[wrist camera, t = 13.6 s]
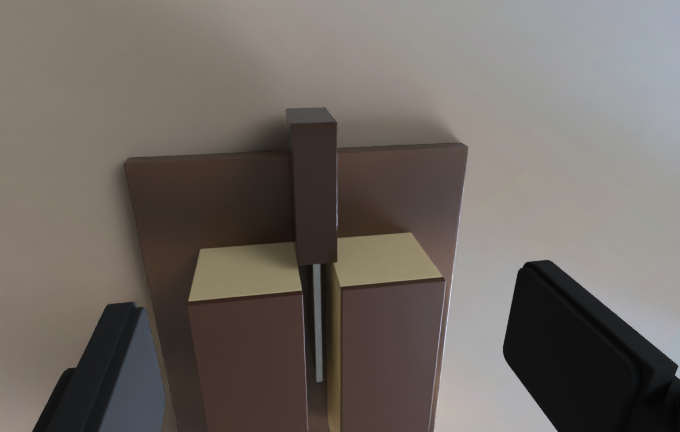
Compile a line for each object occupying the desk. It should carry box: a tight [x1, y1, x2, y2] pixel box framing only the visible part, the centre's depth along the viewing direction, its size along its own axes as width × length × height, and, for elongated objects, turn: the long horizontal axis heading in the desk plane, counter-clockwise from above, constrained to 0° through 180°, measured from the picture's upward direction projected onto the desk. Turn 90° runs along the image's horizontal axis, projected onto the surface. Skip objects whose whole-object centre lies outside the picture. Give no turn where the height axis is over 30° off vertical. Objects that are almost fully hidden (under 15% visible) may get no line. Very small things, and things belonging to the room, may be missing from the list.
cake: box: [187, 233, 446, 432], centre depth 26 cm, size 14×12×5 cm
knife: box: [286, 107, 337, 382], centre depth 24 cm, size 15×2×4 cm, turn 0°
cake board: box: [124, 143, 468, 432], centre depth 29 cm, size 24×18×1 cm
